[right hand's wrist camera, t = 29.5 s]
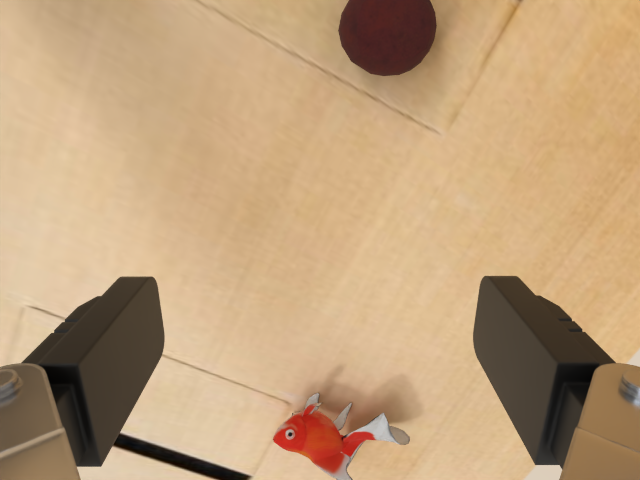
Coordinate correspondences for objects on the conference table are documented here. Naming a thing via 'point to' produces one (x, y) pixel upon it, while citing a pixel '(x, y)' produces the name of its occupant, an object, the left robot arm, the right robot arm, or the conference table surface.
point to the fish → (331, 437)
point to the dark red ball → (387, 34)
